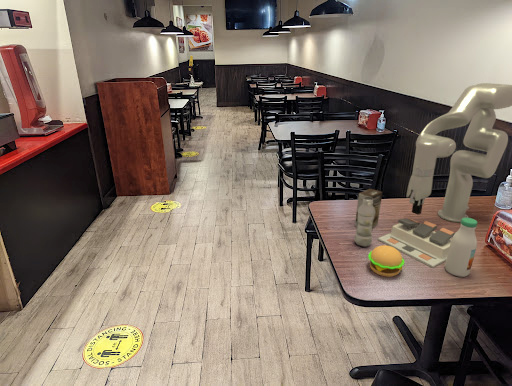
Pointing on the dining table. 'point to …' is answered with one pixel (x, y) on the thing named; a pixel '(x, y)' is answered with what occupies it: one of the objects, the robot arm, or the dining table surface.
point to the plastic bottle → (365, 222)
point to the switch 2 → (441, 236)
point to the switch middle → (425, 229)
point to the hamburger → (386, 261)
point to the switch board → (414, 253)
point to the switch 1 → (409, 222)
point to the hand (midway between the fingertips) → (416, 213)
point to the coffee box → (376, 204)
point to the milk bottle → (462, 249)
